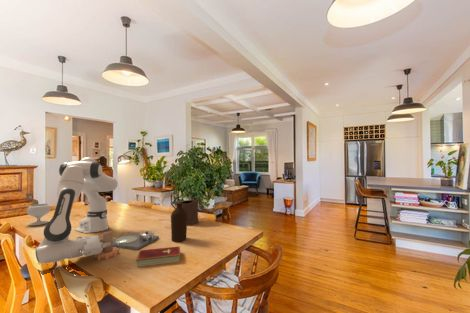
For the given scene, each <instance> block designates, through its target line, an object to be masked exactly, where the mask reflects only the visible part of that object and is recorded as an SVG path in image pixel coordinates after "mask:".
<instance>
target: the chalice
mask: <svg viewBox="0 0 470 313" xmlns="http://www.w3.org/2000/svg"><path fill="white" fill-rule="evenodd" d="M50 211H51V206H50V204H49V203H37V204H31V205H29V206H28V208H27V210H26V214H28V215H27V216H30V217H34V218H36V221H34V222H30V223H29V224H27V226H41V225H45V224H46V225H47V224H48V223H49V221H47V220H41V219H42V218H43V217H44V216H45V215H47V214H49V213H50Z"/></svg>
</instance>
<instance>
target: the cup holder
mask: <svg viewBox="0 0 470 313" xmlns="http://www.w3.org/2000/svg"><path fill="white" fill-rule="evenodd" d="M173 194H174V195H177V201H180V195H179V193H178V192H172V193H171V194H170V206H171V207H172V208H174V210H175V209H176V206H174V204H173ZM181 201H182V200H181ZM182 208H183V209H184V210H185V211H186V212H187V227H189V226H195V225H199V223H200V220H199V197H197V198H195V199H192V200H190V199H189V200H188V199H187V200H183V201H182Z"/></svg>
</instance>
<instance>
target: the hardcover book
mask: <svg viewBox="0 0 470 313" xmlns="http://www.w3.org/2000/svg"><path fill="white" fill-rule="evenodd" d="M180 257H181V246H171V247H170V246H169V247H161V248H151V249H150V248H149V249H141V250H140V249H138V254H137V255H136V259H135V261H136V267H137V268H138V267H147V266H155V265H161V264H169V263H170V264H171V263H179V262H180V261H181V260H180Z"/></svg>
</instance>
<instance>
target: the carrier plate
mask: <svg viewBox="0 0 470 313" xmlns="http://www.w3.org/2000/svg"><path fill="white" fill-rule="evenodd" d="M159 239H160V236H159V235H155V233H154V232H153V231H144V232H139V233H137V232H128V233H127V232H126V233H125V234H122V235H121V236H118V237H116V238H113V248H114V247H117V248H119V249H121V248H122V249H127V250H134V251H139V250H140V249H142V248H144V247H146V246H147V245H149V244H151V243H153V242H155V241H157V240H159Z"/></svg>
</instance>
